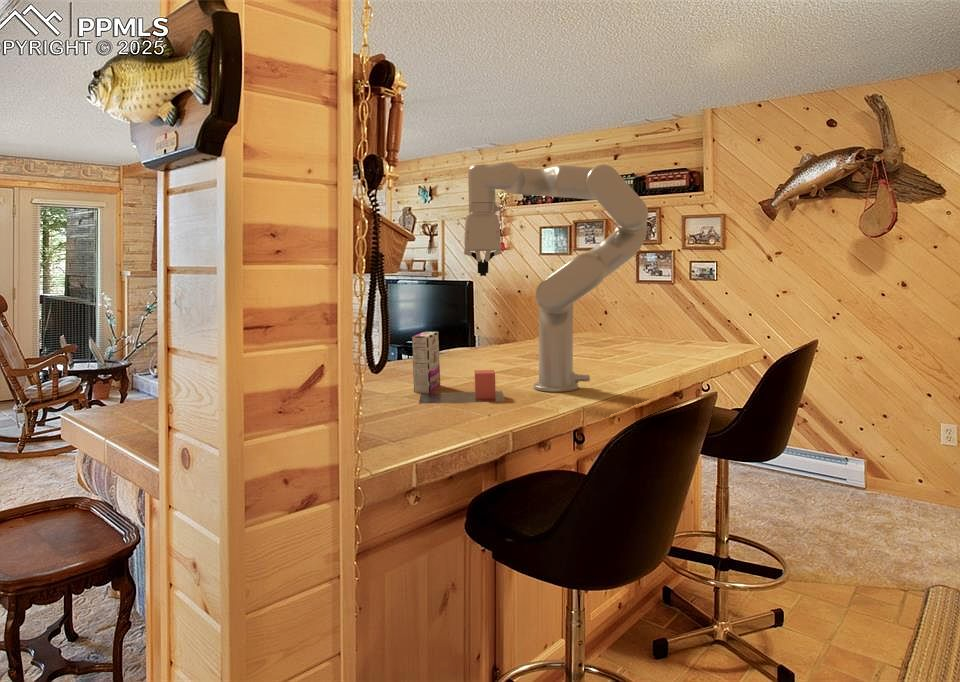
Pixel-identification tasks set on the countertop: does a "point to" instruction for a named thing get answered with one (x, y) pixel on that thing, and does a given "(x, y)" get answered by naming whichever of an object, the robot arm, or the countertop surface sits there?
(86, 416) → the countertop surface
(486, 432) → the countertop surface
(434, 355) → the candy bar box
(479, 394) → the red block
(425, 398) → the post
